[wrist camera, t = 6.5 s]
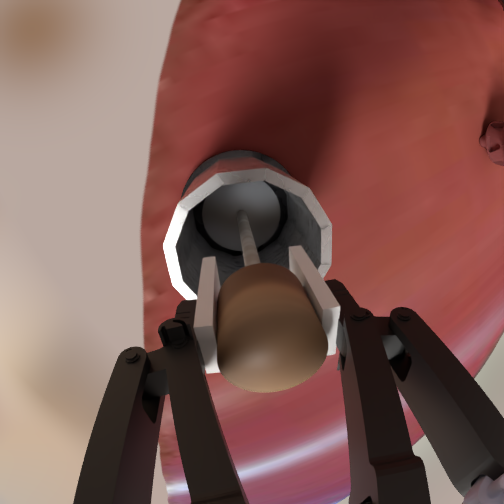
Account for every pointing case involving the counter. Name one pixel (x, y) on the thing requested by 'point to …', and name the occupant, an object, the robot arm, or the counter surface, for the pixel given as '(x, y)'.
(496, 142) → the mechanical component
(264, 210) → the plunger
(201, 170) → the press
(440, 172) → the counter surface
